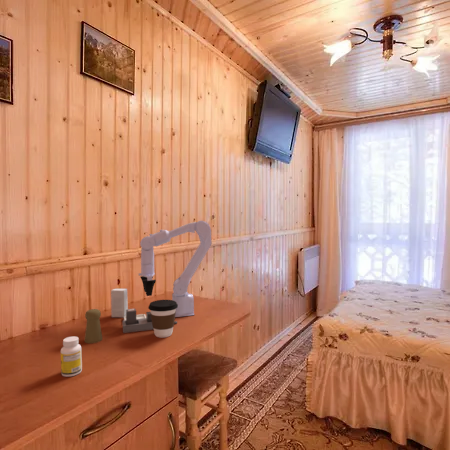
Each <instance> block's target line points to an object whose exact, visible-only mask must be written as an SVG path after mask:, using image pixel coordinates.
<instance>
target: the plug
mask: <svg viewBox="0 0 450 450" xmlns="http://www.w3.org/2000/svg"><path fill="white" fill-rule="evenodd" d="M136 315H137V309H136V308H128V310H126V325H131V324H136Z"/></svg>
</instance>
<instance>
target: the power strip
mask: <svg viewBox="0 0 450 450" xmlns="http://www.w3.org/2000/svg"><path fill="white" fill-rule="evenodd" d="M145 313H146V314H145V315H146V318H142V319H136V324H131V325H126V320H124V319H123V320H122V332H123V334H126V333H127V334H128V333H134V332H143V331H150V330H154V329H153V326H152V320H151V314H150V313H151V311H146V312H145ZM177 324H178V321H177V320H175V321H174V325H177Z"/></svg>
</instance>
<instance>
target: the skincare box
mask: <svg viewBox="0 0 450 450" xmlns="http://www.w3.org/2000/svg"><path fill="white" fill-rule="evenodd" d="M110 295H111V296H110V299H111V301H110V304H111V312H110V313H111V318H124V316H126V310H128V309H129V307H128V306H129V304H128V303H129V302H128V301H129V300H128V288H113V289H111V290H110Z"/></svg>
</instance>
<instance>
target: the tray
mask: <svg viewBox="0 0 450 450" xmlns="http://www.w3.org/2000/svg"><path fill="white" fill-rule="evenodd" d="M142 318H146V314H145V313H144V314H143V313H140V314H136V319H142ZM124 320H126V316H124V317H123V321H124Z"/></svg>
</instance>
